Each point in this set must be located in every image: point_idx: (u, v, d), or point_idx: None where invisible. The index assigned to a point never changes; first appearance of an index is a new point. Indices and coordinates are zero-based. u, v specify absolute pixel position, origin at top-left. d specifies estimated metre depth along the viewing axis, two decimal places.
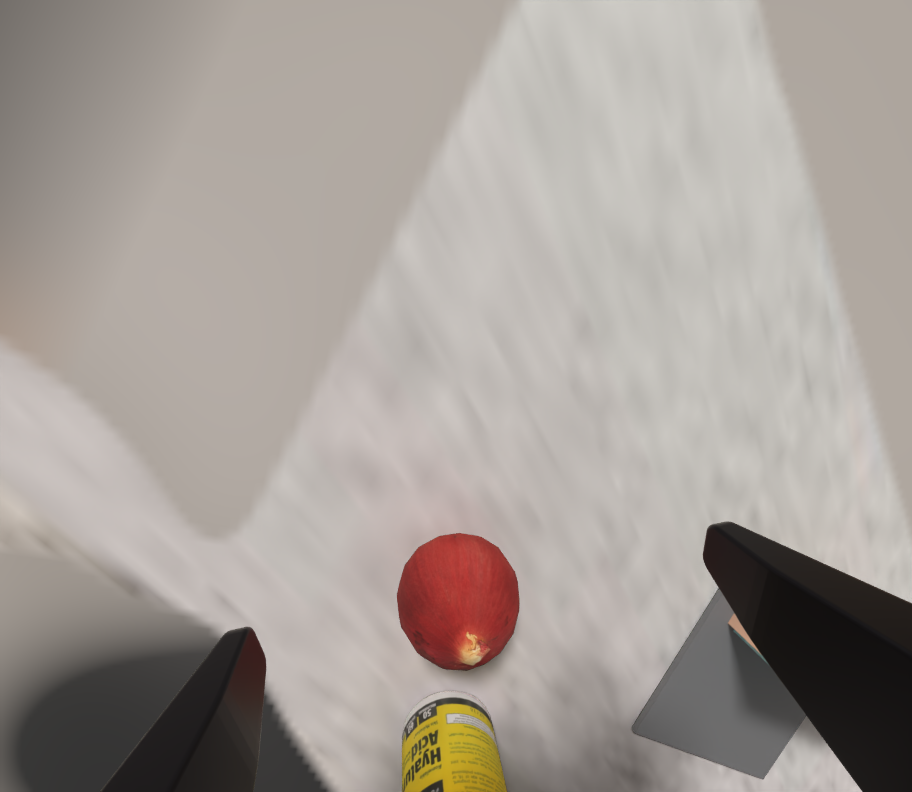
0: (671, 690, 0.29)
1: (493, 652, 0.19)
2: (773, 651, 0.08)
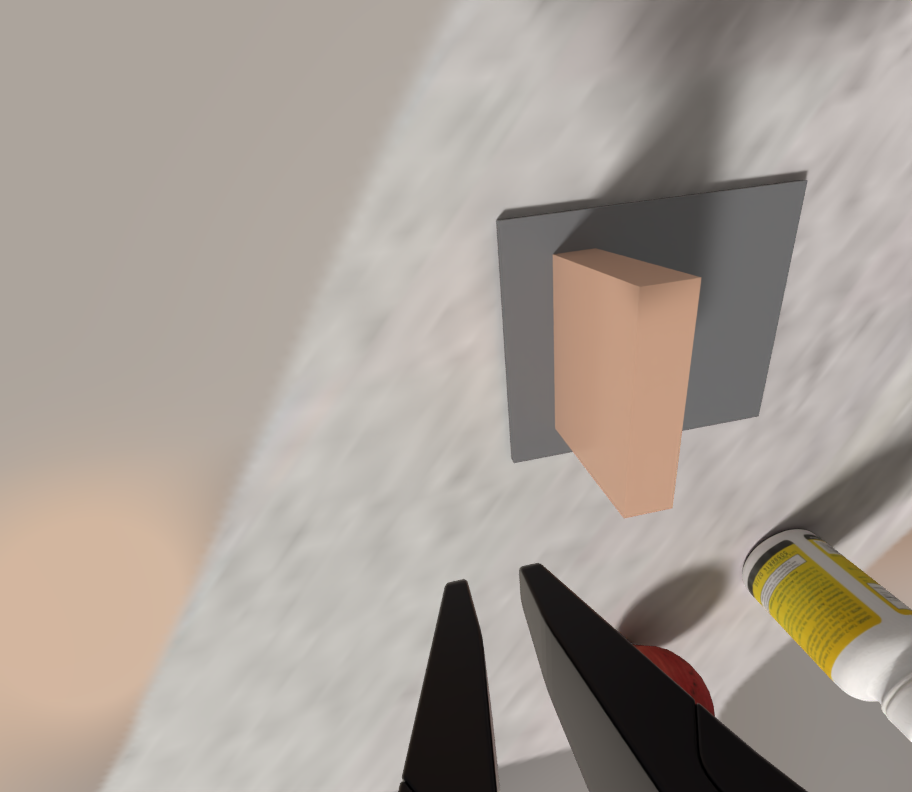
0: (695, 417, 0.23)
1: None
2: (559, 706, 0.07)
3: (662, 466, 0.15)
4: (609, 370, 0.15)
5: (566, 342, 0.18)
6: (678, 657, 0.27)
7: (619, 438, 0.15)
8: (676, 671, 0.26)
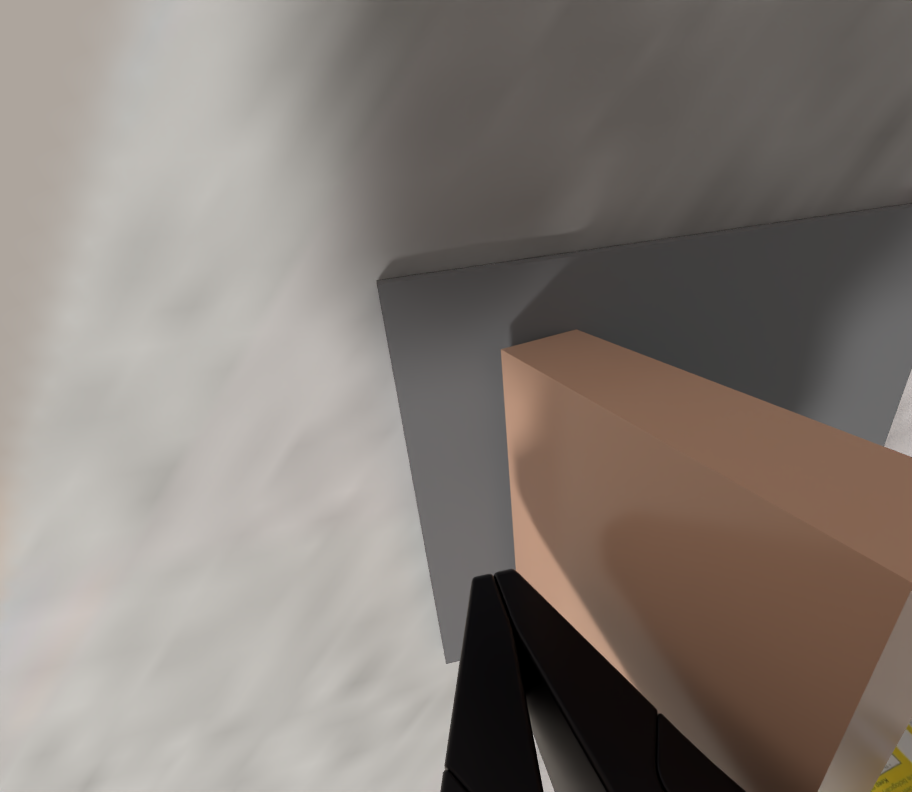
0: None
1: None
2: (529, 714, 0.07)
3: None
4: (700, 669, 0.06)
5: (544, 519, 0.09)
6: None
7: None
8: None
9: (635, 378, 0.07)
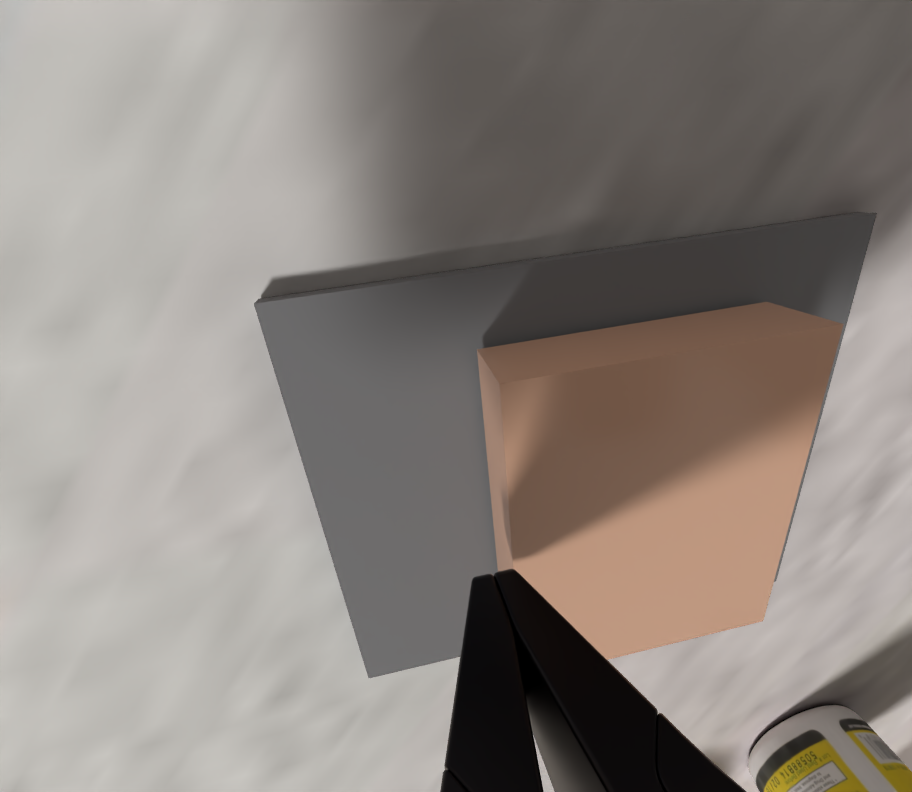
0: None
1: None
2: (529, 714, 0.07)
3: None
4: (743, 475, 0.09)
5: (577, 517, 0.09)
6: None
7: (762, 541, 0.10)
8: None
9: (612, 341, 0.09)
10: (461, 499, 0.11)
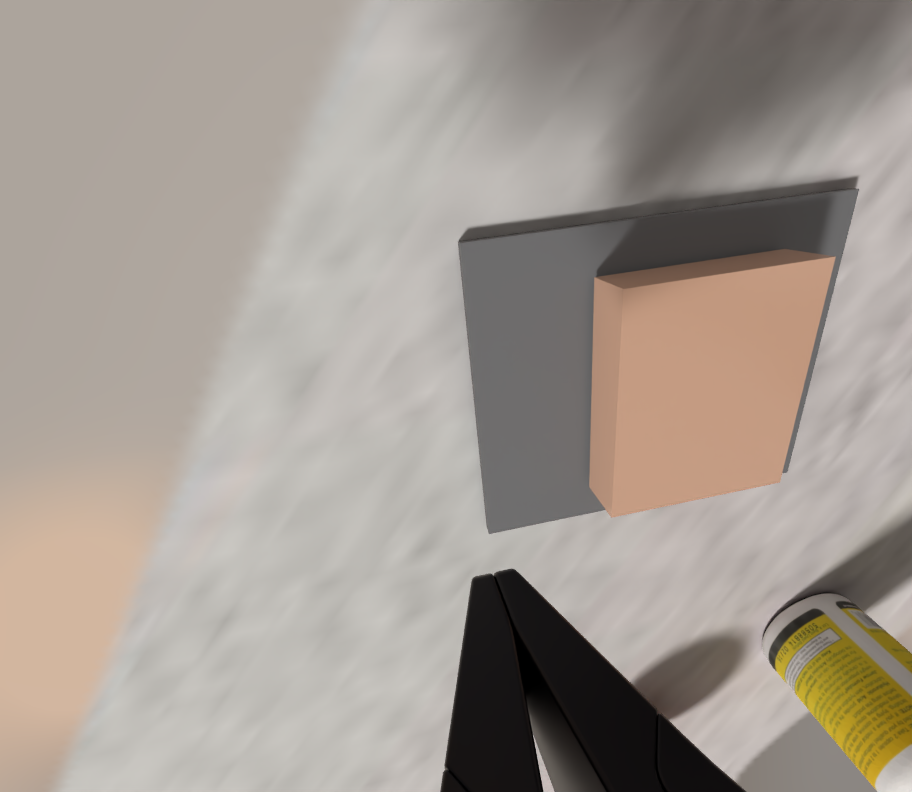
0: None
1: None
2: (529, 714, 0.07)
3: None
4: (769, 362, 0.14)
5: (660, 387, 0.14)
6: None
7: (780, 415, 0.15)
8: None
9: (686, 269, 0.14)
10: (570, 389, 0.16)
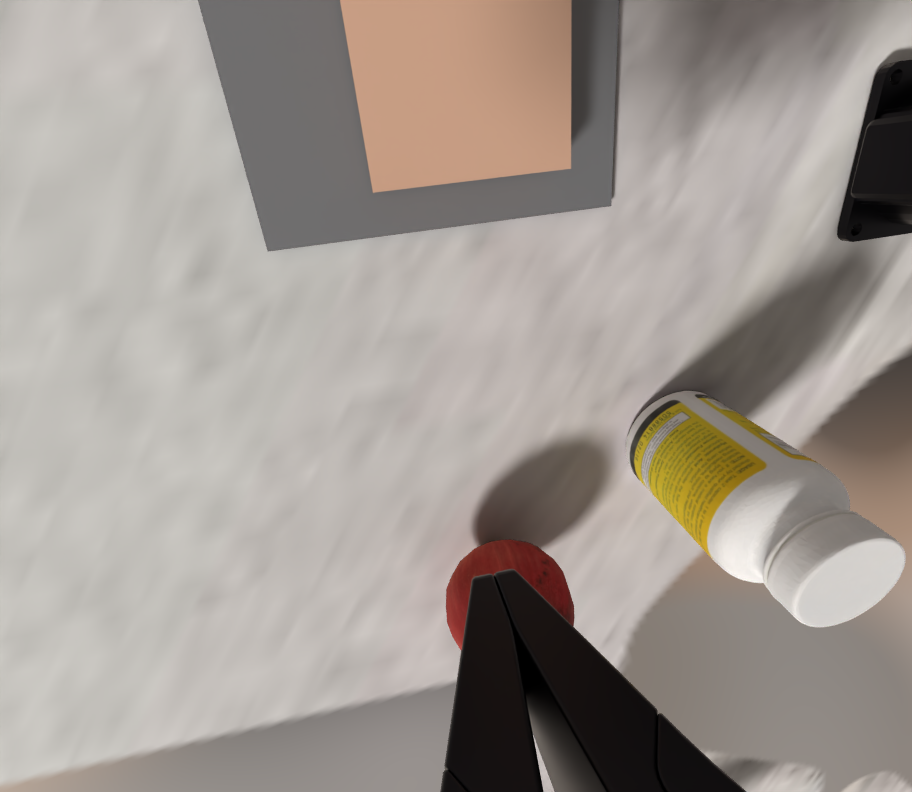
0: (521, 199, 0.17)
1: None
2: (529, 714, 0.07)
3: None
4: None
5: None
6: (535, 547, 0.21)
7: (552, 63, 0.14)
8: (523, 558, 0.20)
9: None
10: (325, 48, 0.14)
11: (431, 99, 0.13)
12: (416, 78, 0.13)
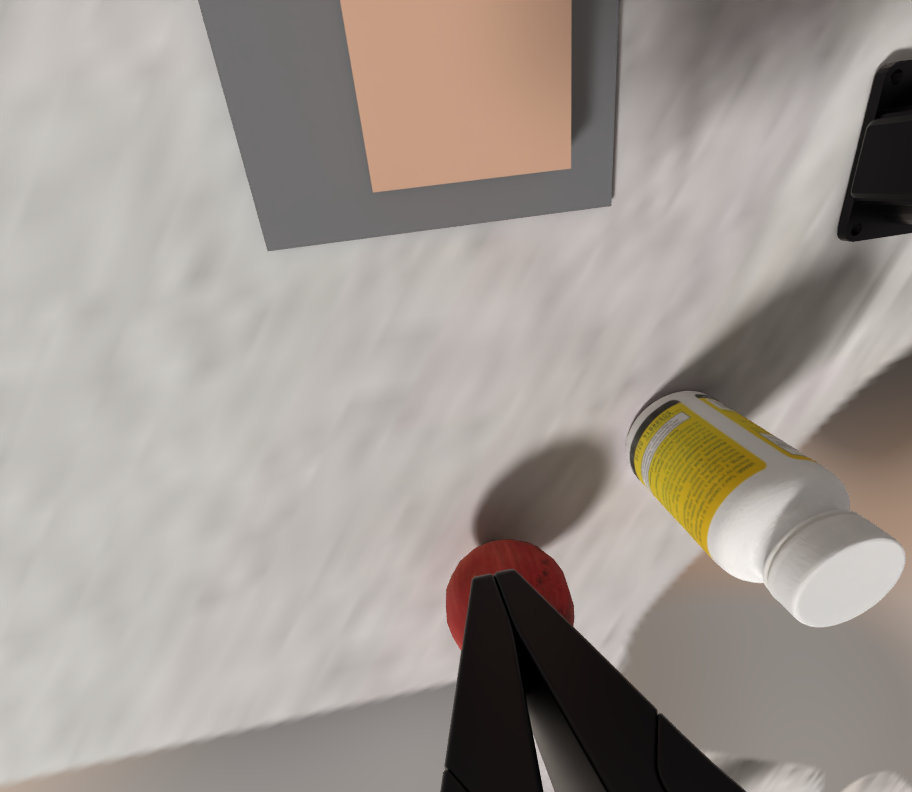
0: (521, 199, 0.17)
1: None
2: (529, 714, 0.07)
3: None
4: None
5: None
6: (535, 547, 0.21)
7: (552, 63, 0.14)
8: (523, 558, 0.20)
9: None
10: (325, 47, 0.14)
11: (431, 99, 0.13)
12: (416, 78, 0.13)
